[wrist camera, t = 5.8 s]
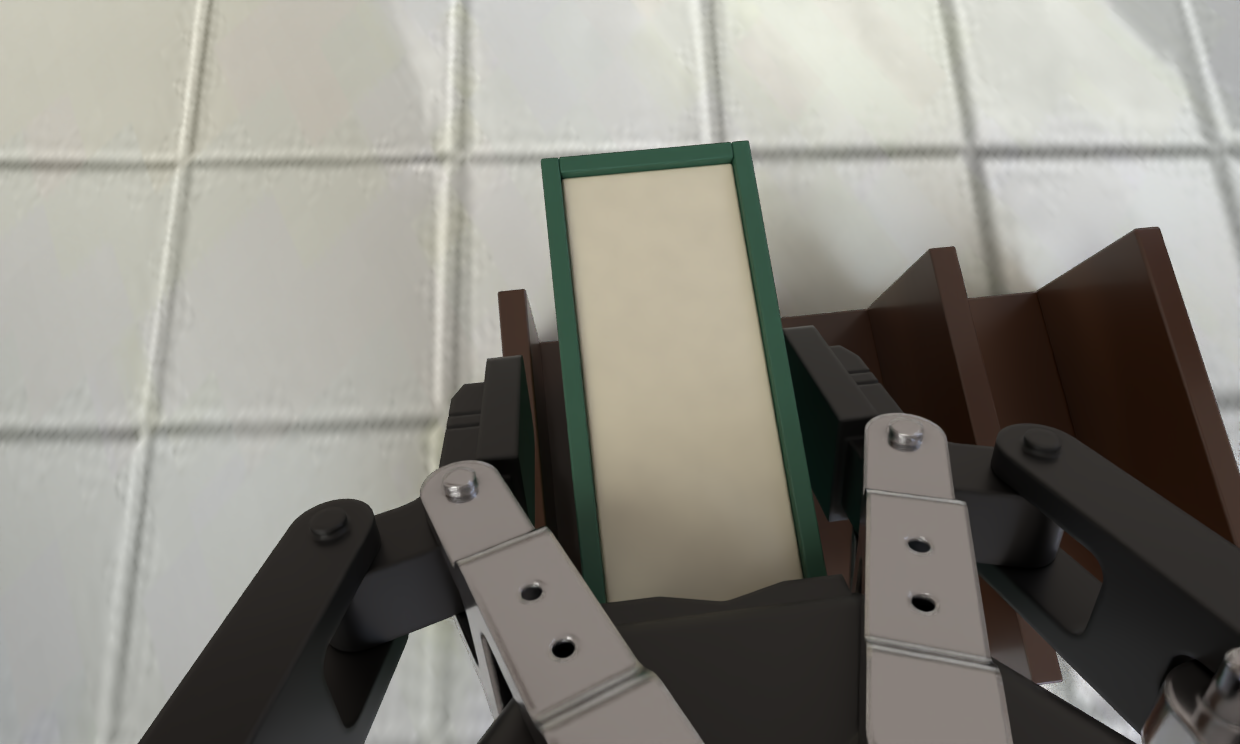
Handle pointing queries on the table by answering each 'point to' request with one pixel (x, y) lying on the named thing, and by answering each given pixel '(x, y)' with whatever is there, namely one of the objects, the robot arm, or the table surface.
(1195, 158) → the table surface
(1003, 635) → the rack
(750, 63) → the table surface
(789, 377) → the book
